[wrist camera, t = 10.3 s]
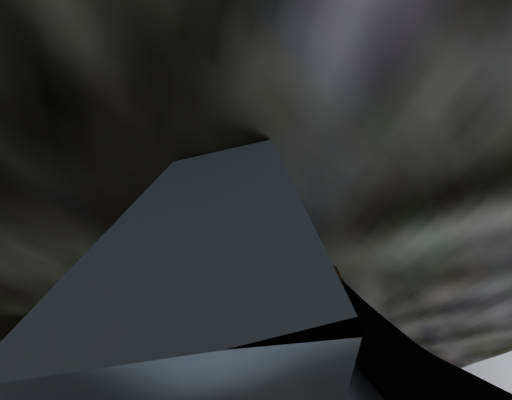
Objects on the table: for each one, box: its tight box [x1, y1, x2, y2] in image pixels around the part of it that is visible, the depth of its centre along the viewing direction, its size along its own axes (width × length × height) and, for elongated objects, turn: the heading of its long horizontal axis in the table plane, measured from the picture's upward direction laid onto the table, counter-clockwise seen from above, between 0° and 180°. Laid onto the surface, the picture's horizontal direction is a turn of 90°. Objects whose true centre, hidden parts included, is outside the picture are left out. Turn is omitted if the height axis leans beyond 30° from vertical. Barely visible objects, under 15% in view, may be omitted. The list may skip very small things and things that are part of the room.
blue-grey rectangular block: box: [0, 140, 362, 400], centre depth 8 cm, size 10×5×8 cm, turn 12°
